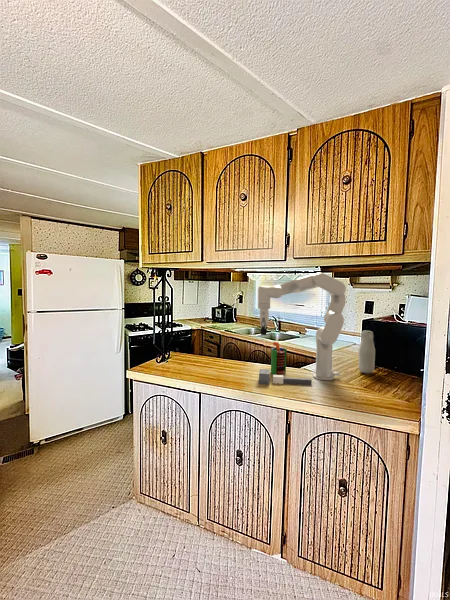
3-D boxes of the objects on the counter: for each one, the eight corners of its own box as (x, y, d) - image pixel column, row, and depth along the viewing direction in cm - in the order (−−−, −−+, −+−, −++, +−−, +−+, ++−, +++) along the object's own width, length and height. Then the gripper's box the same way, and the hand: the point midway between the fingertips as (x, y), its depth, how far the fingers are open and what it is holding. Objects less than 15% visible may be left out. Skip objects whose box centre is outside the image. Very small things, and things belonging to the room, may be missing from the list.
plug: (310, 383, 195) (311, 376, 194) (311, 385, 191) (311, 378, 190) (272, 381, 198) (273, 374, 198) (272, 383, 194) (273, 376, 194)
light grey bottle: (373, 371, 220) (374, 329, 218) (375, 375, 210) (377, 332, 209) (357, 370, 223) (358, 328, 221) (358, 374, 213) (360, 331, 211)
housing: (269, 379, 201) (269, 369, 201) (269, 384, 191) (269, 374, 191) (259, 378, 202) (259, 368, 202) (258, 384, 192) (259, 373, 192)
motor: (280, 375, 209) (280, 344, 207) (267, 373, 214) (268, 342, 213) (287, 372, 217) (288, 342, 215) (275, 370, 222) (276, 340, 221)
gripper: (269, 307, 196) (269, 336, 197) (270, 305, 213) (270, 331, 214) (257, 307, 197) (256, 335, 198) (258, 304, 214) (258, 331, 215)
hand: (263, 333), depth 206 cm, fingers open, 9 cm apart
